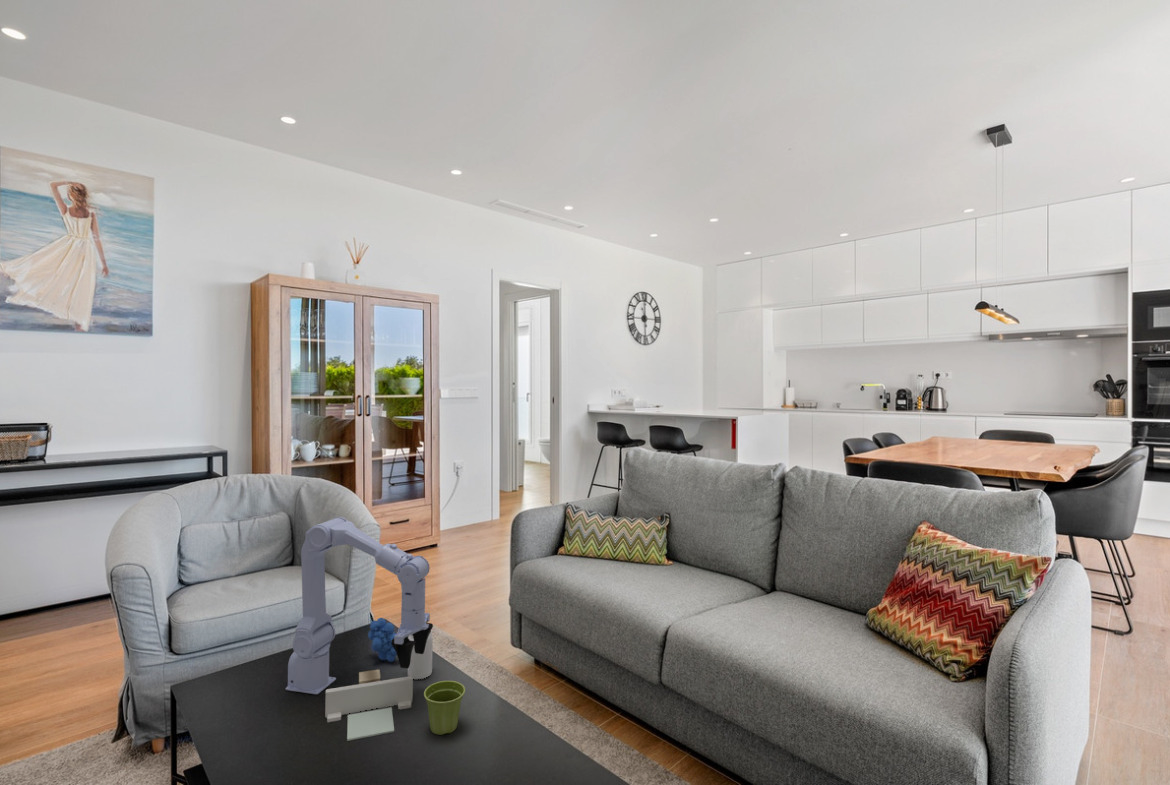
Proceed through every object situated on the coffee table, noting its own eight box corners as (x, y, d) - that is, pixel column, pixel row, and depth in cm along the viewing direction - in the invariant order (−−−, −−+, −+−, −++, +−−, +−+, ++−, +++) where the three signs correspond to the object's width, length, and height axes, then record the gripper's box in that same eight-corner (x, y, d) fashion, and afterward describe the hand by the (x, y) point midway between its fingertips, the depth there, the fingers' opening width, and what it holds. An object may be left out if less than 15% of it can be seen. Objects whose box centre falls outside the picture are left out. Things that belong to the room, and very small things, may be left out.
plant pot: (471, 720, 139) (472, 685, 139) (450, 743, 130) (451, 705, 130) (438, 712, 142) (438, 677, 142) (414, 734, 134) (415, 697, 133)
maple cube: (358, 701, 146) (359, 682, 146) (358, 691, 151) (359, 672, 151) (380, 698, 148) (380, 678, 148) (379, 688, 153) (379, 669, 153)
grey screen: (324, 722, 137) (325, 697, 137) (326, 709, 143) (326, 684, 143) (413, 707, 144) (413, 683, 144) (411, 694, 150) (411, 671, 150)
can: (435, 669, 163) (436, 627, 163) (426, 681, 157) (427, 637, 157) (413, 667, 164) (413, 625, 164) (403, 679, 158) (404, 635, 157)
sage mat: (347, 740, 131) (347, 739, 131) (347, 716, 140) (347, 714, 140) (394, 732, 134) (394, 730, 134) (391, 708, 144) (391, 707, 144)
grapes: (357, 661, 167) (357, 620, 166) (375, 652, 173) (375, 612, 172) (387, 671, 162) (388, 628, 161) (405, 661, 168) (405, 619, 167)
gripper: (413, 619, 139) (412, 676, 140) (440, 597, 154) (439, 649, 154) (386, 616, 141) (385, 672, 141) (416, 595, 155) (415, 645, 155)
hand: (412, 660), depth 148 cm, fingers open, 7 cm apart
